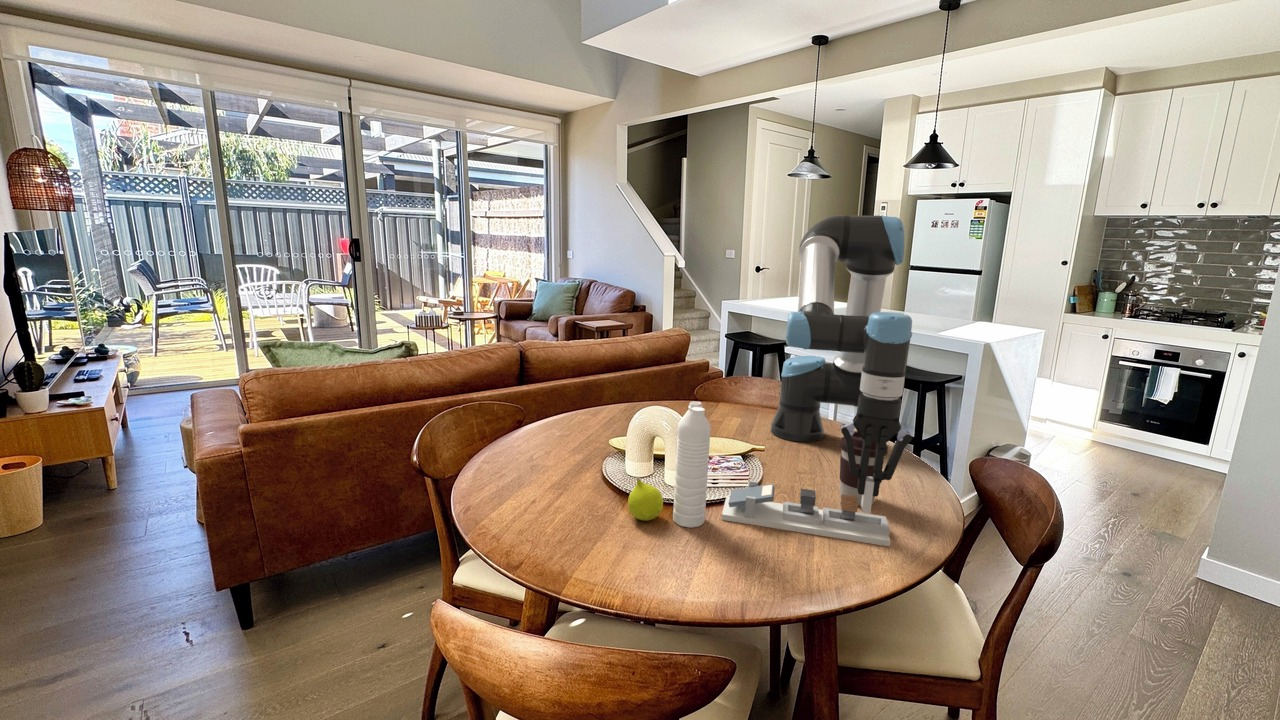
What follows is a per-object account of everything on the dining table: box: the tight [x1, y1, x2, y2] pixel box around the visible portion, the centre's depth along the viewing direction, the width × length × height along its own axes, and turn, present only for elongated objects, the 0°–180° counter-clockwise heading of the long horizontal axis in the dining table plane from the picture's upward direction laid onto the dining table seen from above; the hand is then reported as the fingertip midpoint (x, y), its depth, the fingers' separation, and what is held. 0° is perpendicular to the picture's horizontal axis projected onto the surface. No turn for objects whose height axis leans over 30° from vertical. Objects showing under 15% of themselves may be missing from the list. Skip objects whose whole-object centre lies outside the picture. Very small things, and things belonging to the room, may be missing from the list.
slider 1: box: [799, 488, 817, 515], centre depth 114 cm, size 3×3×5 cm
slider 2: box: [840, 494, 859, 521], centre depth 112 cm, size 3×3×5 cm
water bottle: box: [672, 400, 712, 529], centre depth 110 cm, size 9×6×25 cm
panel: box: [721, 479, 891, 548], centre depth 114 cm, size 9×32×6 cm, turn 75°
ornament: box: [627, 473, 664, 522], centre depth 113 cm, size 7×7×10 cm
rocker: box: [729, 483, 775, 507], centre depth 117 cm, size 7×9×1 cm
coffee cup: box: [839, 430, 889, 507], centre depth 125 cm, size 10×10×15 cm
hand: (865, 509), depth 111 cm, fingers closed
